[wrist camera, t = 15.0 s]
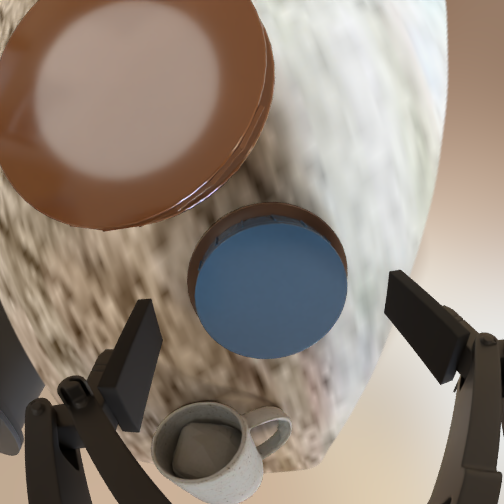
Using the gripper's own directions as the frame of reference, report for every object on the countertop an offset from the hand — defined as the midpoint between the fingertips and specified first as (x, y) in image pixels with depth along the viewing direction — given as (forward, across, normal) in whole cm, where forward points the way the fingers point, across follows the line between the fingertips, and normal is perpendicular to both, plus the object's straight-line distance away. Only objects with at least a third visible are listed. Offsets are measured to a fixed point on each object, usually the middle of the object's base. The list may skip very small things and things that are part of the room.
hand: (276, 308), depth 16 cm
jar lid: (+1, 0, 0) cm, 1 cm away
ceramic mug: (+3, -4, -14) cm, 15 cm away
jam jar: (+3, -4, +11) cm, 12 cm away
